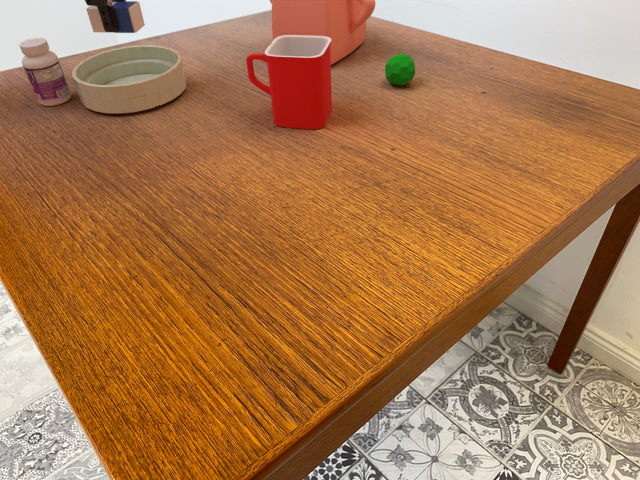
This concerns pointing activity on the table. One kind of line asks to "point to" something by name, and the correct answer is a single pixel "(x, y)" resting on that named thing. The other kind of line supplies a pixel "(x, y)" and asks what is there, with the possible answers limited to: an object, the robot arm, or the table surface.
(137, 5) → the eraser
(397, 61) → the polyhedron
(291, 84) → the mug
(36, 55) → the pill bottle
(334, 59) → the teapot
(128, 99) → the bowl
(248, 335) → the table surface
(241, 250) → the table surface
